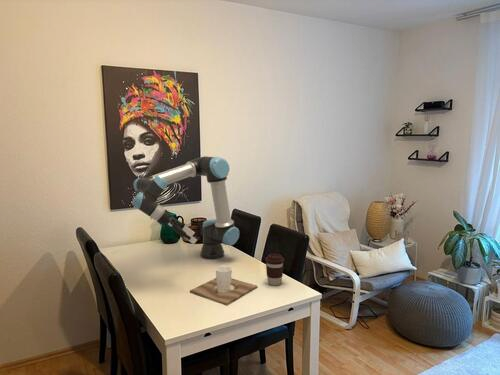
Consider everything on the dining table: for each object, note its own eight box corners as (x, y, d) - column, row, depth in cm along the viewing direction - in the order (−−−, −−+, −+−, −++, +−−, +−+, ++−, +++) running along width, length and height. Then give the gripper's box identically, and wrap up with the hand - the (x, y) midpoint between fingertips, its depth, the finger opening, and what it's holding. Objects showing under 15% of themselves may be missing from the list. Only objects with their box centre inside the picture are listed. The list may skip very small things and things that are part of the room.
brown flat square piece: (221, 277, 203) (221, 271, 203) (257, 287, 189) (257, 282, 189) (189, 292, 184) (189, 286, 184) (227, 305, 170) (227, 299, 170)
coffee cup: (286, 280, 198) (286, 253, 196) (281, 288, 189) (281, 259, 186) (268, 278, 201) (268, 251, 199) (262, 285, 192) (262, 257, 190)
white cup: (219, 292, 181) (219, 272, 180) (213, 286, 188) (213, 267, 187) (234, 289, 185) (234, 270, 183) (227, 283, 192) (227, 265, 190)
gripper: (156, 215, 201) (188, 236, 207) (155, 227, 177) (191, 251, 183) (165, 204, 201) (196, 226, 207) (165, 214, 177) (200, 239, 183)
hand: (194, 238), depth 195 cm, fingers open, 13 cm apart
